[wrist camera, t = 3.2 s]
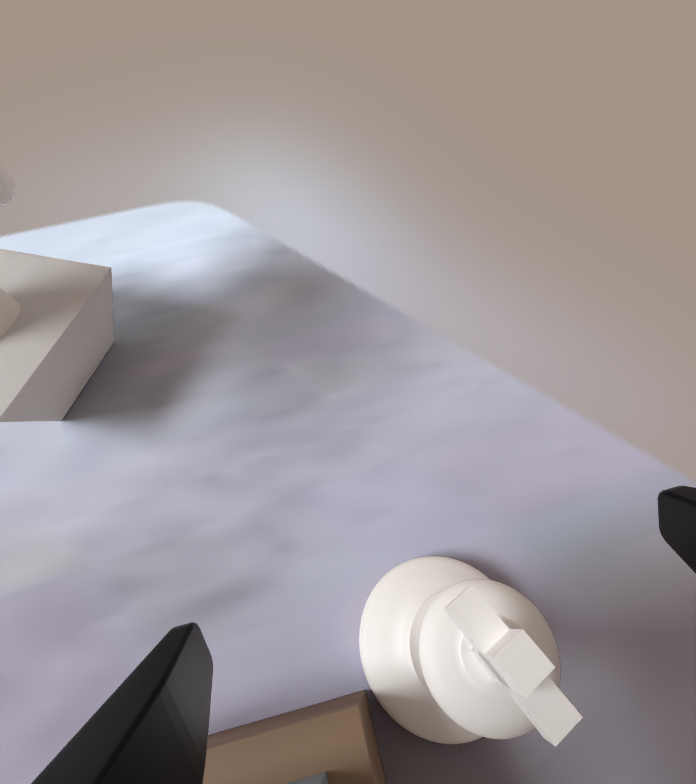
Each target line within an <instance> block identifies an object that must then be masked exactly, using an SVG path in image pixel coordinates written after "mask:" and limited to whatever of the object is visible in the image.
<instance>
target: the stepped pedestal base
mask: <svg viewBox="0 0 696 784" xmlns="http://www.w3.org/2000/svg"><path fill="white" fill-rule="evenodd" d="M203 784H386V781H385V776H384V772H383V767H382V763H381V758H380V754H379V749H378V744H377V740H376V735H375V731H374V726H373V722H372V717H371V712H370V708H369V703H368V699H367V694H366V690H363V691H360V692H356V693H353V694H349V695H346V696H342V697H339V698H335V699H332V700H329V701H325V702H322V703H318V704H315V705H311V706H308V707H304V708H301V709H298V710H294V711H291V712H287V713H284V714H280V715H277V716H273V717H270V718H267V719H263V720H260V721H256V722H253V723H249V724H246V725H242V726H239V727H235V728H232V729H229V730H225V731H222V732H218V733H215V734H211V735H208V740H207V752H206V762H205V770H204V777H203Z"/></svg>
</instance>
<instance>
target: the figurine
mask: <svg viewBox="0 0 696 784" xmlns="http://www.w3.org/2000/svg"><path fill="white" fill-rule="evenodd" d="M16 193H17V186H16V183H15V181H14V179H13V178H12V176H11V175H10V174H9V172H8V171H7V170H6V169H5V167H4V166H3V165H2V164H1V163H0V206H2V205H5V204H7V203H9V202H10V201H12V200H13V199H14V197H15V196H16ZM113 343H114V321H113V298H112V274H111V267H105V266H99V265H93V264H87V263H81V262H75V261H69V260H63V259H57V258H51V257H45V256H40V255H34V254H28V253H22V252H16V251H10V250H4V249H0V422H19V421H62V419H63V418H64V416H65V415H66V413H67V412H68V410H69V409H70V407H71V406H72V404H73V403H74V401H75V400H76V398H77V397H78V395H79V394H80V392H81V391H82V389H83V388H84V386H85V385H86V383H87V382H88V380H89V379H90V377H91V376H92V374H93V373H94V371H95V370H96V368H97V367H98V365H99V364H100V362H101V361H102V359H103V358H104V356H105V355H106V353H107V352H108V350H109V349H110V347H111V346H112V344H113Z"/></svg>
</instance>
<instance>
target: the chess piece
mask: <svg viewBox="0 0 696 784" xmlns="http://www.w3.org/2000/svg"><path fill="white" fill-rule="evenodd" d="M359 646H360V656H361V661H362V666H363V669H364V673H365V676H366V679H367V681H368V684H369V686H370V688H371V690H372V692H373V694H374V695H375V697H376V699H377V700H378V702H379V703H380V705H381V706H382V707H383V709H384V710H385V711H386V712H387V713H388V714H389V715H390V716H391V717H392V718H393V719H394V720H395V721H396V722H397V723H398V724H399V725H401V726H402V727H403V728H405V729H406V730H408V731H410V732H411V733H413V734H415V735H417V736H419V737H421V738H424V739H426V740H429V741H432V742H437V743H443V744H461V743H467V742H471V741H474V740H477V739H479V738H481V737H486V738H491V739H511V738H516V737H519V736H522V735H525V734H527V733H529V732H530V731H532V730H533V729H535V728H536V729H537V730H538V731H539V733H540V734H541V735H542V737H543V738H544V739H546V740H547V741H548V742H550V743H551V744H553V745H554V746H555V747H556V746H557V745H558V744H559V743H560V742H561V741H562V739H563V738H564V737H565V736H566V735H567V734H568V733H569V732H570V731H571V730H572V729H573V727H574V726H575V725H576V724H577V723H578V722H579V721H580V720H581V719H582V718H583V717H582V716H581V715H580V713H579V712H578V711H577V710H576V709H575V707H574V706H573V705H572V704H571V703H570V701H569V700H568V699H567V698H566V697H565V695H564V694H563V693H562V692H561V691H560V689H559V686H560V676H561V668H560V658H559V653H558V648H557V645H556V642H555V639H554V636H553V634H552V632H551V629H550V627H549V626H548V624H547V622H546V620H545V619H544V617H543V616H542V614H541V613H540V612H539V611H538V609H537V608H536V607H535V606H534V605H533V604H532V603H531V602H530V601H529V600H528V599H527V598H526V597H525V596H523V595H522V594H521V593H519V592H518V591H516V590H515V589H513V588H511V587H509V586H507V585H505V584H503V583H500V582H497V581H493V580H490V579H489V578H488V577H487V576H485V575H484V574H483V573H482V572H480V571H479V570H477V569H476V568H474V567H472V566H470V565H468V564H466V563H464V562H462V561H459V560H456V559H452V558H448V557H441V556H425V557H419V558H414V559H411V560H408V561H406V562H403V563H401V564H400V565H398V566H396V567H395V568H393V569H392V570H390V571H389V572H388V573H387V574H386V575H385V576H384V577H383V578H382V579H381V580H380V581H379V582H378V583H377V585H376V586H375V588H374V589H373V591H372V592H371V594H370V596H369V598H368V600H367V602H366V605H365V608H364V611H363V614H362V619H361V624H360V633H359Z"/></svg>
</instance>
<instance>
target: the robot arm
mask: <svg viewBox="0 0 696 784" xmlns="http://www.w3.org/2000/svg"><path fill="white" fill-rule="evenodd" d="M658 515H659V529H660V532H661V535H662V537H663V538H664V540H665V541H666V542H667V543H668V544H669V545H670V547H671V548H672V549H673V550H674V551H675V552H676V553H677V554H678V555H679V556H680V557H681V558H682V559H683V560H684V561H685V563H686V564H687V565H688V566H689V567H690V568H691V569H692V570H693V571H694V572H695V573H696V488H693V487H687V486H677V487H674V488H670V489H667V490H663V491H662V492H660V493H659V495H658ZM212 676H213V662H212V657H211V654H210V651H209V649H208V647H207V644H206V642H205V640H204V637H203V635H202V632H201V630H200V628H199V626H198V625H197V624H196V623H193V622H191V623H188V624H184V625H180V626H177V627H174V628H172V629H171V630H170V631H169V632H168V633H167V634H166V635H165V637H164V638H163V639H162V640H161V641H160V642H159V643H158V644H157V645H156V647H155V648H154V649H153V650H152V651H151V652H150V653H149V654H148V655H147V656H146V658H145V659H144V660H143V661H142V662H141V663H140V664H139V665H138V666H137V667H136V669H135V670H134V671H133V672H132V673H131V674H130V675H129V676H128V677H127V679H126V680H125V681H124V682H123V683H122V684H121V685H120V686H119V687H118V688H117V690H116V691H115V692H114V693H113V694H112V695H111V696H110V697H109V698H108V699H107V701H106V702H105V703H104V704H103V705H102V706H101V707H100V708H99V709H98V710H97V712H96V713H95V714H94V715H93V716H92V717H91V718H90V719H89V720H88V722H87V723H86V724H85V725H84V726H83V727H82V728H81V729H80V730H79V731H78V733H77V734H76V735H75V736H74V737H73V738H72V739H71V740H70V741H69V742H68V744H67V745H66V746H65V747H64V748H63V749H62V750H61V751H60V752H59V753H58V755H57V756H56V757H55V758H54V759H53V760H52V761H51V762H50V763H49V765H48V766H47V767H46V768H45V769H44V770H43V771H42V772H41V773H40V774H39V776H38V777H37V778H36V779H35V780H34V781H33V782H32V783H31V784H203V777H204V770H205V762H206V752H207V740H208V728H209V715H210V702H211V689H212Z"/></svg>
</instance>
